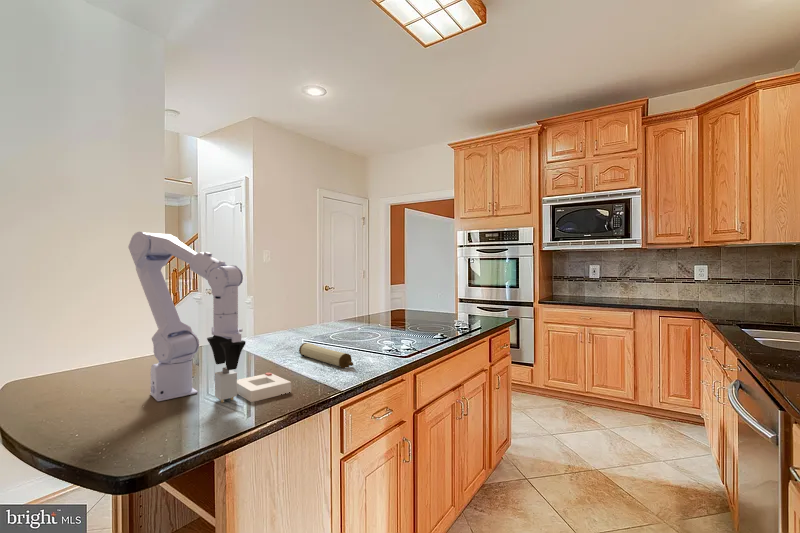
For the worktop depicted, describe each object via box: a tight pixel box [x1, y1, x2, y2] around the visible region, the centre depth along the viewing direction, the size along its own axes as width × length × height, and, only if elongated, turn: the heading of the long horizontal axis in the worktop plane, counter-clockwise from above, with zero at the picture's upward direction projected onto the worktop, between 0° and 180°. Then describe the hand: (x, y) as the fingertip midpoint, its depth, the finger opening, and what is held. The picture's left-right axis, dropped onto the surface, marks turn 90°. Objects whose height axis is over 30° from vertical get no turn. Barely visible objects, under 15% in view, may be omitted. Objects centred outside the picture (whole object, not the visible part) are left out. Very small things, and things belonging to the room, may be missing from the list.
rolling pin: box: [298, 342, 354, 369], centre depth 140 cm, size 32×6×5 cm, turn 45°
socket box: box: [237, 372, 292, 403], centre depth 107 cm, size 11×12×3 cm
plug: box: [214, 366, 238, 404], centre depth 101 cm, size 4×4×8 cm
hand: (226, 366), depth 101 cm, fingers open, 7 cm apart
